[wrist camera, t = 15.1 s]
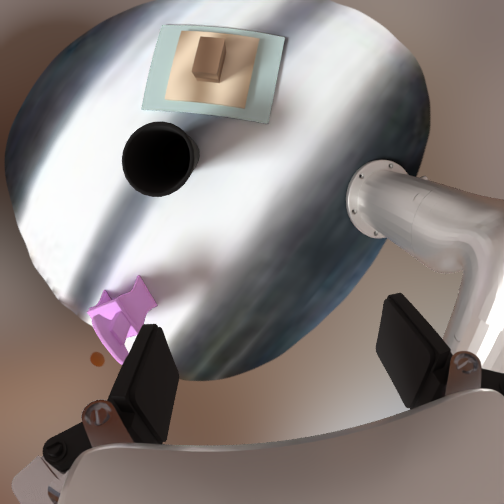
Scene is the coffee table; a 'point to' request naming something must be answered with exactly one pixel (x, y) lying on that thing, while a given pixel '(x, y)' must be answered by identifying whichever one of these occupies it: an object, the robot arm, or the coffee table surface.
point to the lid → (212, 68)
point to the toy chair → (121, 318)
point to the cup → (159, 159)
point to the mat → (254, 108)
